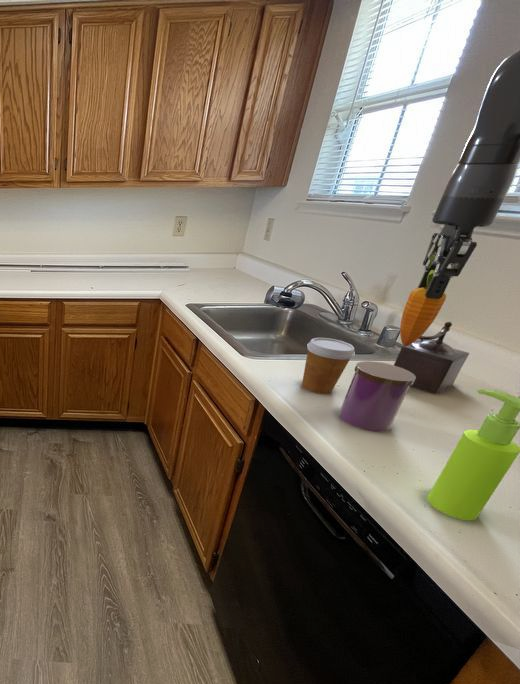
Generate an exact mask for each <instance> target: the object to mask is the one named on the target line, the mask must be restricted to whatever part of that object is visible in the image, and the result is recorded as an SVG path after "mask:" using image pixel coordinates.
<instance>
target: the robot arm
mask: <svg viewBox="0 0 520 684" xmlns="http://www.w3.org/2000/svg"><path fill="white" fill-rule="evenodd" d="M462 151H463V152H462V153H461V156H460V158H459V159H458V163H457V165H456V167H455V168H454V170H453V172H452V173H451V175H450V177H449V179H448V181H447V184H446V186H445V188H444V190H443V193H442V195H441V198H440V200H439V202H438V204H437V207H436V209H435V211H434V214H433V217H432V219H431V221H432V223H434V224H435V225H436V224H437V225H444V226H443V227H442V229H441V230H440V232H438V233H437V232H434V233H433V234H432V236H431V240H430V243H429V245H428V248H427V251H426V254H425V257H424V260H423V262H422V266H424V267H423V271H424V272H423V275H422V277H421V280H420V282H419V284H418V286H417V288H426V287H427V277H428V274H429V273H430V271H431V270H435V272H434V275H433V277H432V280H431V282H430V284H429V286H428V289H427V291H426V293H425V296H426V297H427V298H433V299H440V298H442V296H443V294H444V293H445V291H446V290H447V288H448V285H449V283H450V281H451V279H453V278H454V277H459V276H460V275H461V272H462V271H463V269H464V267H465V265H466V264H467V263H468V261H469V259H470V257H471V256H472V254H473V252H474V251H475V250H476V248H477V246H478V244H477V243H478V242H477V241H473V239H474V238H473V233H474V230H475V228H477V227H478V228H479V227H482V228H483V227H489V226H491V225H492V224H493V223H494V221H495V219H496V217H497V215H498V213H499V210H500V208H501V206H502V204H503V203H504V201H505V198H506V196H507V194H508V192H509V190H510V188H511V186H512V183H513V182H514V178H515V175H516V172H517V169H518V167H519V164H520V49H518V50H516V51H515V52H513V53H511V55H509V56H508V57H506V58H504V60H503V61H502V62H501V63H500V65H498V67H497V68H496V70H495V71H494V73H493V75H492V76H491V78H490V81H489V83H488V85H487V88H486V91H485V93H484V96H483V100H482V102H481V106H480V109H479V112H478V115H477V119H476V122H475V125H474V128H473V130H472V131H471V133H470V136H469V138H468V139H467V142H466V143H465V147H464V148H463V150H462ZM449 266H450V268H449Z"/></svg>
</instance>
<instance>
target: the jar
mask: <svg viewBox="0 0 520 684" xmlns="http://www.w3.org/2000/svg"><path fill="white" fill-rule="evenodd" d="M415 379H416V376H415V375H414V374H413V373H411V372H410V371H408V370H405V369H403V368H400V367H397V366H394V364H390V363H385V362H381V361H369V360H367V361H366V360H365V361H364V360H363V361H359V362H357V363H356V364H355V367H354V374H353V377H352V379H351V382H350V385H349V387H348V388H347V392H346V394H345V397H344V400H343V402H342V405H341V407H340V410H339V412H338V416H339V418H340V419H341V420H342V421H344V422H345V423H347V424H349V425H351V426H353V427H356V428H358V429H362V430H365V431H370V432H376V433H383V432H388V431H389V430H390V429H391V427H392V425H393V423H394V422H395V419H396V416H397V415H398V412H399V410H400V408H401V406H402V404H403V402H404V400H405V398H406V396H407V393H408V391H409V389H410V387H411V386H410V385H412V384H413V383H414V381H415Z"/></svg>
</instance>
